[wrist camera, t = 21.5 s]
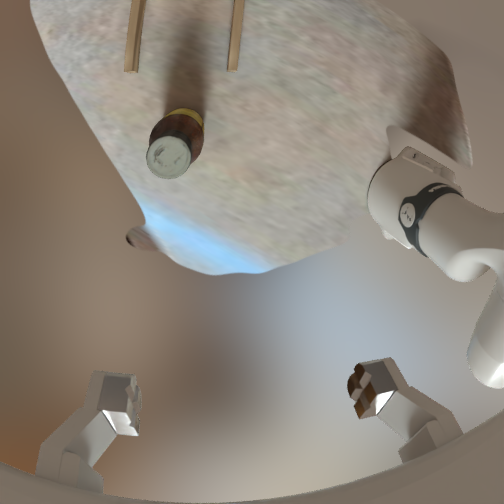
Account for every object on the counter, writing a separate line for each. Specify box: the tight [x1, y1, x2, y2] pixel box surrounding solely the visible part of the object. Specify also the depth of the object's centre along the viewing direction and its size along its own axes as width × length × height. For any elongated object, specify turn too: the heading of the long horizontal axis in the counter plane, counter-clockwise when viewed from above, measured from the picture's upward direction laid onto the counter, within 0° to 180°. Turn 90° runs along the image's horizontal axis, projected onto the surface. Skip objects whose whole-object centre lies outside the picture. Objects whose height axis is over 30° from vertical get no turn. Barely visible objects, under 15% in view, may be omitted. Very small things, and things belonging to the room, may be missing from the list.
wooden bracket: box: [124, 0, 244, 73], centre depth 31 cm, size 16×14×4 cm
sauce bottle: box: [146, 108, 204, 179], centre depth 32 cm, size 6×6×20 cm
